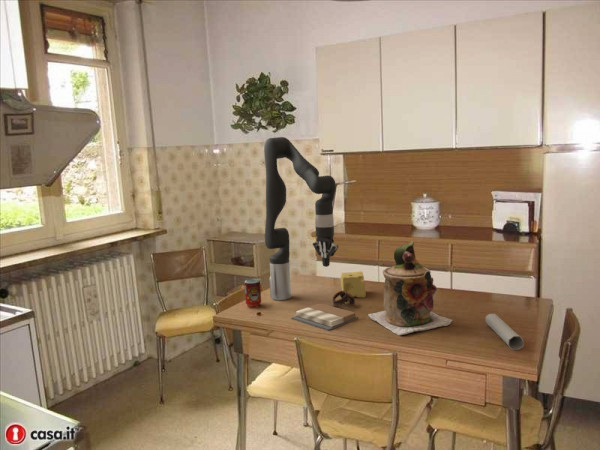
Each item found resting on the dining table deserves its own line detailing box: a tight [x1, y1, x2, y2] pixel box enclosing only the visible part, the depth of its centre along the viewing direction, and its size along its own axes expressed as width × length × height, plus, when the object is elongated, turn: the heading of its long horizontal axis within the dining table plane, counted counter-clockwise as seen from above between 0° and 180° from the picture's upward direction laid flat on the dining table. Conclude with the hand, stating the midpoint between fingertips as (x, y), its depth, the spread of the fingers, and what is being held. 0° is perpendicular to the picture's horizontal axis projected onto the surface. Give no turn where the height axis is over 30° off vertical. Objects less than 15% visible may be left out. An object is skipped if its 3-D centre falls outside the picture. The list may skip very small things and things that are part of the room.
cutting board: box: [291, 302, 358, 332], centre depth 205 cm, size 21×17×3 cm
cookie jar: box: [367, 240, 453, 336], centre depth 195 cm, size 25×25×32 cm
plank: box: [295, 307, 343, 327], centre depth 203 cm, size 20×7×2 cm, turn 44°
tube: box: [485, 313, 525, 351], centre depth 179 cm, size 5×5×25 cm
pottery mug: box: [331, 290, 357, 308], centre depth 220 cm, size 12×10×8 cm
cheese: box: [340, 271, 366, 298], centre depth 235 cm, size 10×11×10 cm
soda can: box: [244, 277, 262, 309], centre depth 226 cm, size 7×7×12 cm
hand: (326, 266), depth 207 cm, fingers closed
